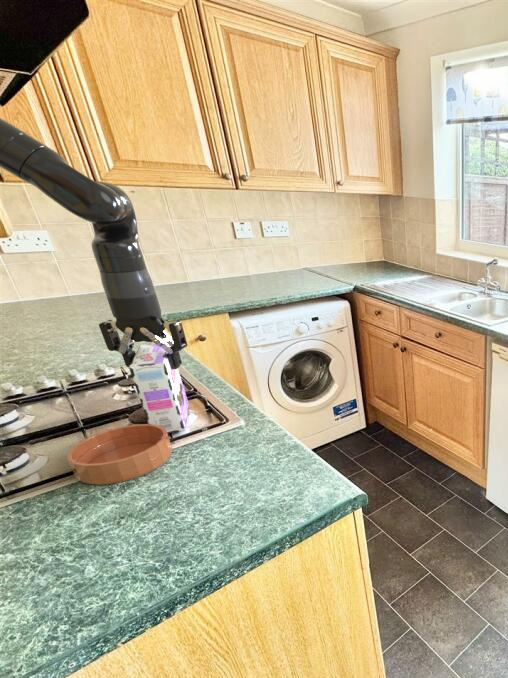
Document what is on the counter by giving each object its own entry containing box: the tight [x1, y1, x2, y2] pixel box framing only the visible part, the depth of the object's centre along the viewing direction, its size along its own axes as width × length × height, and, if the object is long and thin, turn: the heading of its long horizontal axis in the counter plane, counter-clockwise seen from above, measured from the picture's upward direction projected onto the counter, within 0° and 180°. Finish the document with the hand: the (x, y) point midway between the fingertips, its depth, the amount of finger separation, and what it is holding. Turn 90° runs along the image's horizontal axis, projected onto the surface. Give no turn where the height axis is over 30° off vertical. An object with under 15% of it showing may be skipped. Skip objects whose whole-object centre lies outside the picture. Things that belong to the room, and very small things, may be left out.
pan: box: [66, 423, 173, 486], centre depth 81 cm, size 14×14×4 cm
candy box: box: [128, 343, 190, 435], centre depth 92 cm, size 14×6×16 cm, turn 32°
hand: (155, 368), depth 90 cm, fingers closed on candy box, 7 cm apart
